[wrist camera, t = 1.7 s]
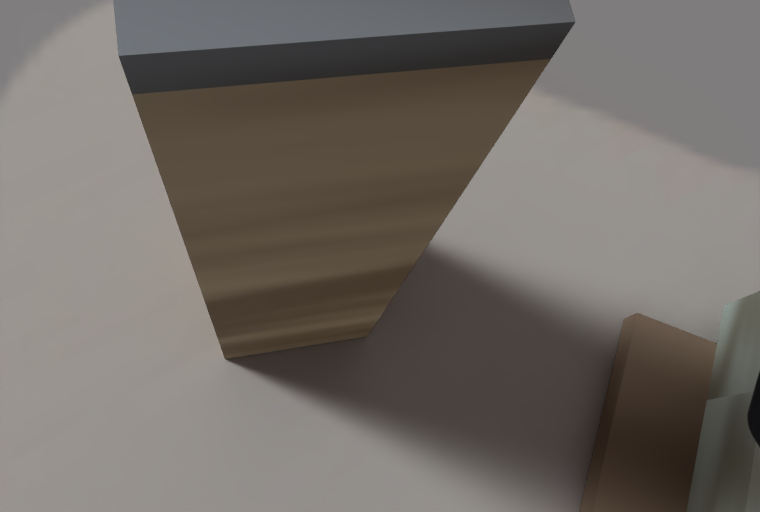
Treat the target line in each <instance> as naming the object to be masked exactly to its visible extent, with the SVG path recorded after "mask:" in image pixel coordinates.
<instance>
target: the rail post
mask: <svg viewBox="0 0 760 512" xmlns="http://www.w3.org/2000/svg"><path fill="white" fill-rule="evenodd" d="M113 1H114V12H115V22H116V33H117V43H118V54H119V58H120V61H121V64H122V67H123V70H124V72H125V75H126V78H127V81H128V84H129V87H130V90H131V92H132V95H133V98H134V101H135V104H136V107H137V109H138V112H139V115H140V118H141V121H142V124H143V127H144V129H145V132H146V135H147V138H148V141H149V144H150V147H151V149H152V152H153V155H154V158H155V161H156V164H157V166H158V169H159V172H160V175H161V178H162V181H163V184H164V186H165V189H166V192H167V195H168V198H169V201H170V204H171V206H172V209H173V212H174V215H175V218H176V221H177V223H178V226H179V229H180V232H181V235H182V238H183V241H184V243H185V246H186V249H187V252H188V255H189V258H190V261H191V263H192V266H193V269H194V272H195V275H196V278H197V280H198V283H199V286H200V289H201V292H202V295H203V298H204V300H205V303H206V306H207V309H208V312H209V315H210V318H211V320H212V323H213V326H214V329H215V332H216V335H217V337H218V340H219V343H220V346H221V349H222V352H223V355H224V357H225V359H230V358H236V357H242V356H249V355H255V354H261V353H267V352H274V351H280V350H286V349H293V348H299V347H305V346H311V345H318V344H324V343H330V342H337V341H343V340H349V339H356V338H362V337H367V336H368V335H369V333H370V332H371V330H372V329H373V327H374V326H375V324H376V323H377V321H378V320H379V318H380V317H381V315H382V314H383V312H384V311H385V309H386V308H387V306H388V305H389V303H390V302H391V300H392V299H393V297H394V296H395V294H396V293H397V291H398V290H399V288H400V287H401V285H402V284H403V282H404V281H405V279H406V277H407V276H408V274H409V273H410V271H411V270H412V268H413V267H414V265H415V264H416V262H417V261H418V259H419V258H420V256H421V255H422V253H423V252H424V250H425V249H426V247H427V246H428V244H429V243H430V241H431V240H432V238H433V237H434V235H435V234H436V232H437V231H438V229H439V228H440V226H441V225H442V223H443V222H444V220H445V218H446V217H447V215H448V214H449V212H450V211H451V209H452V208H453V206H454V205H455V203H456V202H457V200H458V199H459V197H460V196H461V194H462V193H463V191H464V190H465V188H466V187H467V185H468V184H469V182H470V181H471V179H472V178H473V176H474V175H475V173H476V172H477V170H478V169H479V167H480V166H481V164H482V163H483V161H484V159H485V158H486V156H487V155H488V153H489V152H490V150H491V149H492V147H493V146H494V144H495V143H496V141H497V140H498V138H499V137H500V135H501V134H502V132H503V131H504V129H505V128H506V126H507V125H508V123H509V122H510V120H511V119H512V117H513V116H514V114H515V113H516V111H517V110H518V108H519V107H520V105H521V103H522V102H523V100H524V99H525V97H526V96H527V94H528V93H529V91H530V90H531V88H532V87H533V85H534V84H535V82H536V81H537V79H538V78H539V76H540V75H541V73H542V72H543V70H544V68H545V67H546V66H547V64H548V63H549V61H550V59H551V58H552V57H553V55H554V54H555V52H556V51H557V49H558V48H559V46H560V44H561V43H562V41H563V40H564V38H565V37H566V35H567V34H568V32H569V31H570V29H571V28H572V26H573V25H574V23H575V18H574V15H573V12H572V9H571V5H570V3H569V0H113Z"/></svg>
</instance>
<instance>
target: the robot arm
mask: <svg viewBox="0 0 760 512" xmlns="http://www.w3.org/2000/svg"><path fill="white" fill-rule="evenodd" d="M747 422H748V427H749V430H750V432H751V434H752V436H753V438H754V440H755V441H756V443H757V444H758V446H759V447H760V371H759V374H758V377H757V381H756V384H755V388H754V391H753V395H752V398H751V402H750V405H749V409H748V413H747Z"/></svg>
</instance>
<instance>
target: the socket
mask: <svg viewBox="0 0 760 512" xmlns="http://www.w3.org/2000/svg"><path fill="white" fill-rule="evenodd" d="M759 371H760V291H759V292H757V293H754V294H752V295H749V296H747V297H744V298H742V299H739V300H736V301H734V302H731V303H729V304H726V305H724V309H723V314H722V320H721V325H720V331H719V336H718V342H717V344H716V343H714V342H711V341H709V340H706V339H703V338H701V337H698V336H696V335H693V334H690V333H688V332H685V331H683V330H680V329H678V328H675V327H672V326H670V325H667V324H665V323H662V322H660V321H657V320H654V319H652V318H649V317H647V316H644V315H641V314H639V313H636V314H634V315H632V316H630V317H627V318H625V319H624V323H623V327H622V331H621V336H620V340H619V344H618V348H617V353H616V357H615V361H614V366H613V370H612V374H611V378H610V383H609V387H608V391H607V395H606V400H605V404H604V408H603V413H602V417H601V421H600V425H599V430H598V434H597V438H596V443H595V447H594V451H593V455H592V460H591V464H590V468H589V472H588V477H587V481H586V485H585V490H584V494H583V498H582V502H581V507H580V511H579V512H760V447H759V446H758V444H757V443H756V441H755V440H754V438H753V436H752V434H751V432H750V430H749V427H748V422H747V413H748V409H749V405H750V402H751V398H752V395H753V391H754V388H755V384H756V381H757V377H758V374H759Z"/></svg>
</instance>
